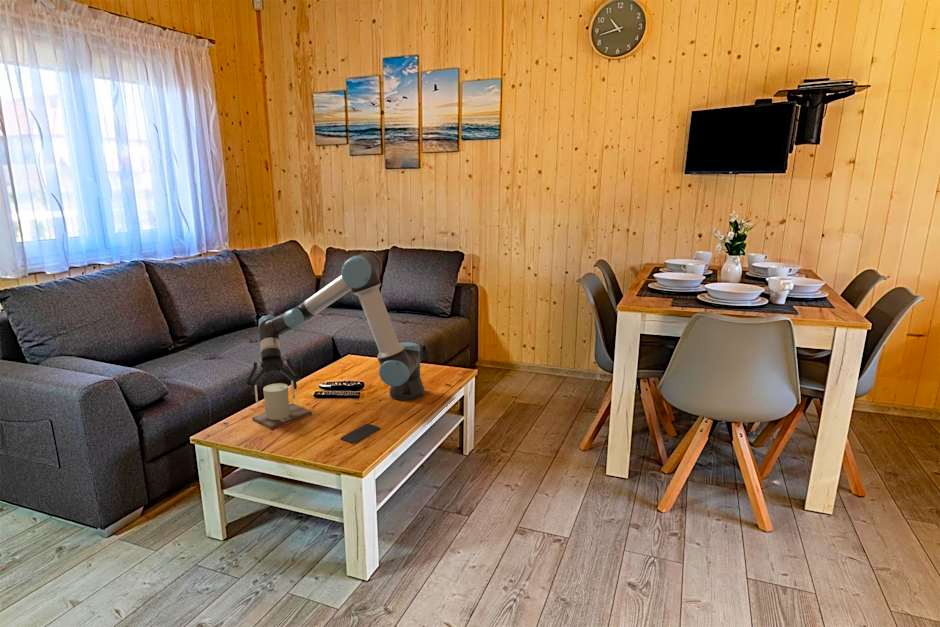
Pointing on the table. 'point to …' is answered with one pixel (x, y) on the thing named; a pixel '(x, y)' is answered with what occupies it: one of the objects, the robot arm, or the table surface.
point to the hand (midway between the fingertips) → (275, 399)
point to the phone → (360, 433)
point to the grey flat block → (295, 414)
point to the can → (276, 401)
